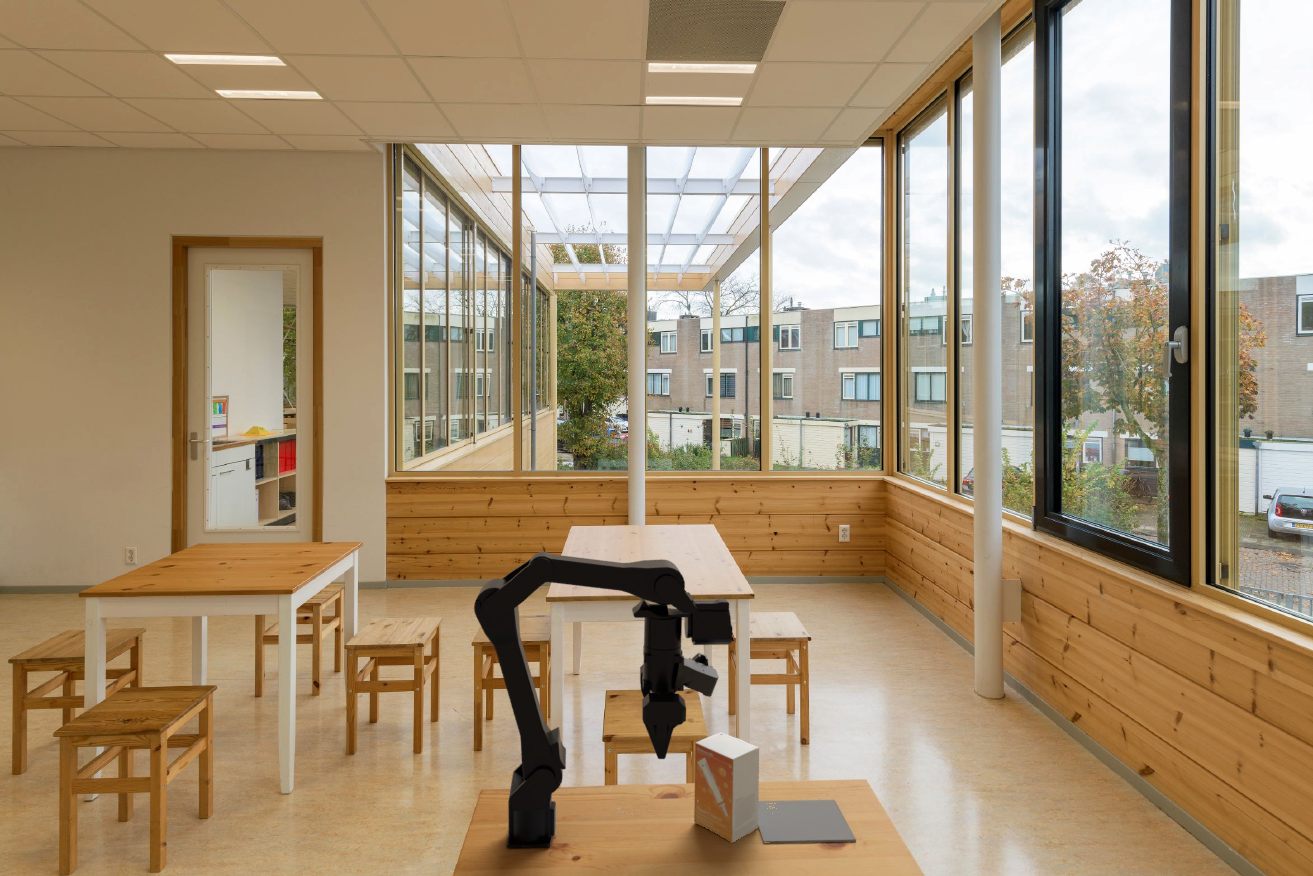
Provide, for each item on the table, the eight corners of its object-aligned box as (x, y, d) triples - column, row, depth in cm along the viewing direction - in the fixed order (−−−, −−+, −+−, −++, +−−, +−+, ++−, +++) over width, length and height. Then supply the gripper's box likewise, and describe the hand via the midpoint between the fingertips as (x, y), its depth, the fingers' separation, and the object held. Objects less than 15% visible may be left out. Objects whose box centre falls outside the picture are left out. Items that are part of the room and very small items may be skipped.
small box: (693, 823, 125) (693, 741, 125) (720, 809, 130) (721, 730, 129) (732, 844, 119) (733, 759, 119) (759, 829, 124) (760, 746, 123)
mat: (763, 843, 120) (763, 841, 120) (750, 803, 132) (750, 801, 132) (856, 841, 120) (856, 839, 120) (834, 801, 132) (834, 799, 132)
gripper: (722, 665, 113) (719, 773, 114) (708, 628, 132) (706, 721, 132) (643, 664, 112) (641, 773, 113) (640, 627, 131) (638, 721, 132)
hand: (660, 745), depth 123 cm, fingers open, 9 cm apart
